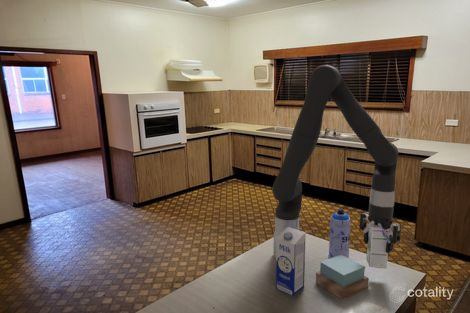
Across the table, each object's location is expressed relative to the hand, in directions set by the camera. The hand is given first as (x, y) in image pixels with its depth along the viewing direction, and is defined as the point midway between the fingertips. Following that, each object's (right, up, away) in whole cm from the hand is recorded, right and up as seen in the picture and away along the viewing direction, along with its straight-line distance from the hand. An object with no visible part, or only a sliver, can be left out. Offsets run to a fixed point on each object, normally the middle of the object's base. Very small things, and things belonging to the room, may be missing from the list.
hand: (377, 247), depth 114 cm
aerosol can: (-8, -9, +17) cm, 21 cm away
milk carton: (-31, -13, -3) cm, 33 cm away
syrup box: (0, -6, +1) cm, 6 cm away
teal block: (-13, -9, -2) cm, 16 cm away
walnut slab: (-13, -13, -1) cm, 18 cm away
